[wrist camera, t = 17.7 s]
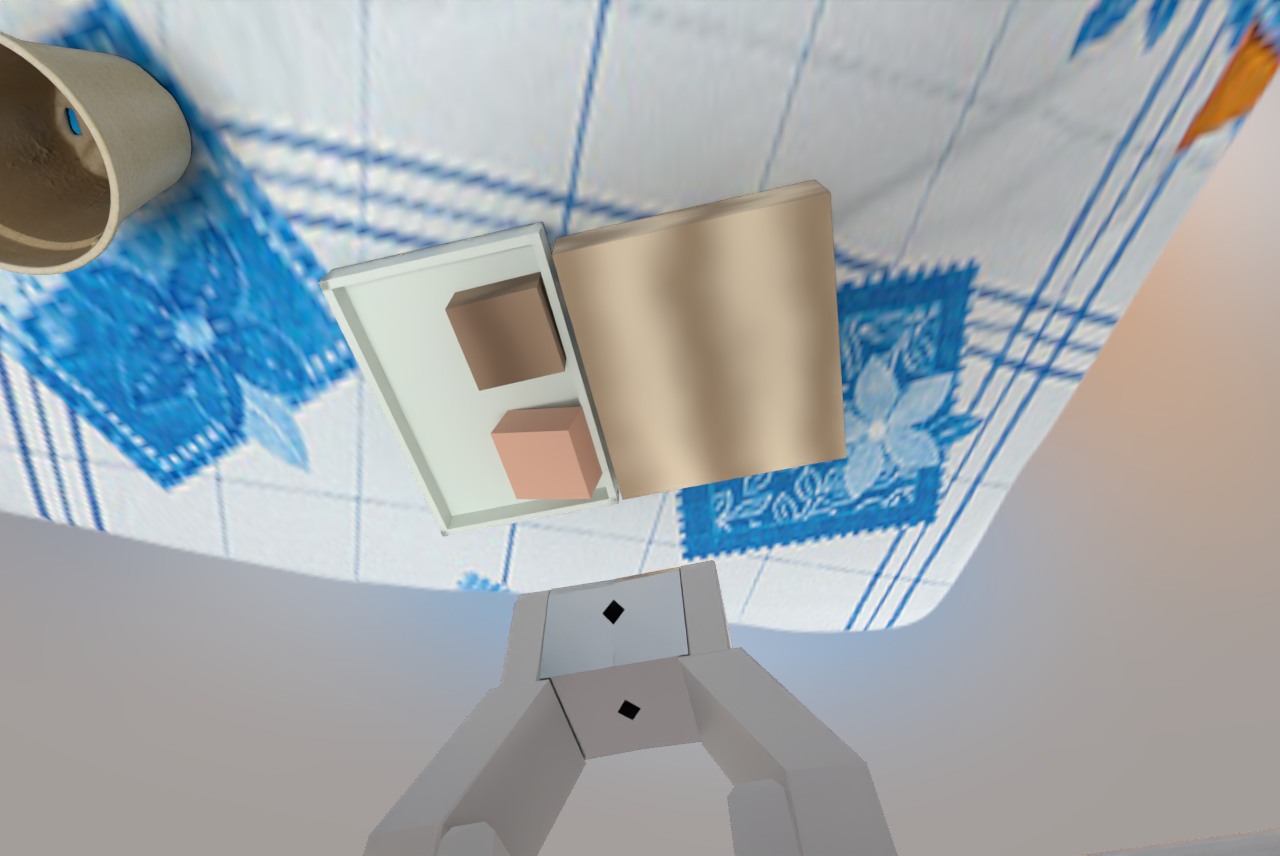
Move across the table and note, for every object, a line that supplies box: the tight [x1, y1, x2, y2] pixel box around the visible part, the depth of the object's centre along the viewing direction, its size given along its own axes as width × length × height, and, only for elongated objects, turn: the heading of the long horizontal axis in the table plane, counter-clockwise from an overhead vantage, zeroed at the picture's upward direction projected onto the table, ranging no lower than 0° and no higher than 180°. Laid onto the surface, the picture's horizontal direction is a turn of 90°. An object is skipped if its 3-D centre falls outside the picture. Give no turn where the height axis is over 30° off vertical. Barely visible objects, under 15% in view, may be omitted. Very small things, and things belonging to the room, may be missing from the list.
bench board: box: [552, 180, 846, 500], centre depth 38 cm, size 14×16×3 cm
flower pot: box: [0, 31, 191, 275], centre depth 29 cm, size 9×9×9 cm
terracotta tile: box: [490, 407, 603, 499], centre depth 41 cm, size 5×5×2 cm
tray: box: [318, 222, 619, 536], centre depth 40 cm, size 12×18×2 cm, turn 12°
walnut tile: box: [445, 272, 567, 391], centre depth 37 cm, size 5×5×2 cm
